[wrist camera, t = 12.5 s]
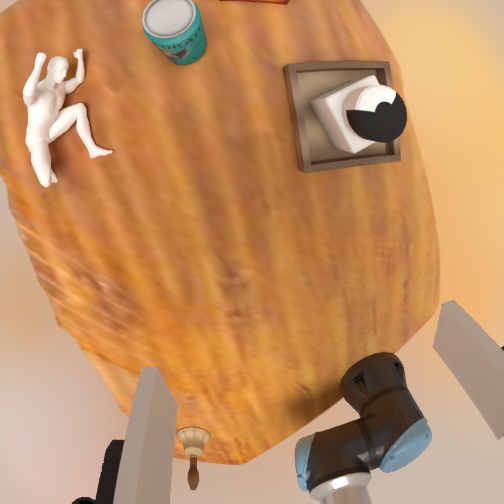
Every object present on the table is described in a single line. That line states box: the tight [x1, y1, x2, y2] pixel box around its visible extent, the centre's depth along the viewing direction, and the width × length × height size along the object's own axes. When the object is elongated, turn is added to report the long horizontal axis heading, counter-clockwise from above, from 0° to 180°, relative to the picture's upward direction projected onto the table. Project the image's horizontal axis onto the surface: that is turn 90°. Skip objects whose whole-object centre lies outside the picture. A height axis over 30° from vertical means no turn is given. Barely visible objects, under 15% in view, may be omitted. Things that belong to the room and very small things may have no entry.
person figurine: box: [23, 49, 113, 187], centre depth 33 cm, size 13×13×18 cm
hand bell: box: [177, 427, 210, 490], centre depth 60 cm, size 8×8×16 cm
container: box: [309, 75, 407, 153], centre depth 34 cm, size 8×8×13 cm
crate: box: [283, 61, 401, 173], centre depth 39 cm, size 15×15×4 cm
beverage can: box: [142, 0, 207, 64], centre depth 29 cm, size 6×6×15 cm
